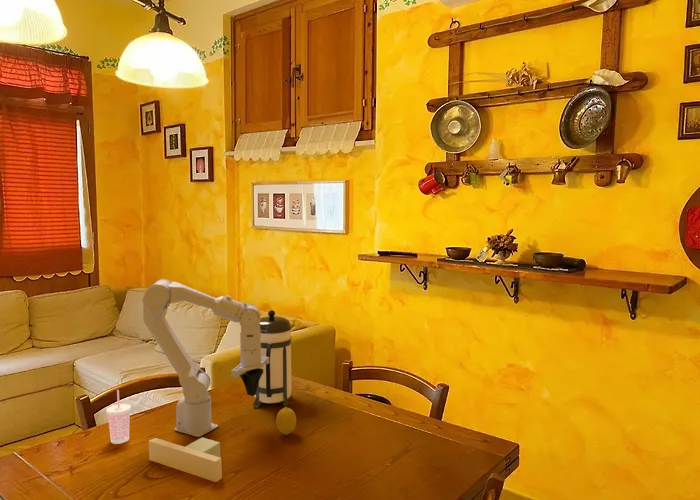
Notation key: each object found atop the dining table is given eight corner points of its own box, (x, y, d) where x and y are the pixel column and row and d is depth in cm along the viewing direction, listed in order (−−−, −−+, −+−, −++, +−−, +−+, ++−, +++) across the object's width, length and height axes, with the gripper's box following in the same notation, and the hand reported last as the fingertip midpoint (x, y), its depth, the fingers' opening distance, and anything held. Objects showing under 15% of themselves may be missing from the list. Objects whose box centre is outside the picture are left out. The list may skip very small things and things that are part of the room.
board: (149, 460, 133) (148, 440, 133) (155, 456, 135) (155, 437, 135) (215, 482, 123) (215, 461, 122) (221, 478, 125) (221, 457, 124)
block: (182, 466, 131) (181, 448, 130) (202, 454, 137) (202, 437, 136) (200, 472, 128) (199, 454, 127) (220, 459, 134) (219, 442, 134)
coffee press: (237, 401, 171) (235, 310, 168) (278, 389, 182) (277, 303, 179) (268, 418, 159) (266, 319, 156) (310, 404, 169) (309, 311, 166)
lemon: (299, 432, 149) (299, 404, 148) (291, 440, 144) (290, 412, 143) (281, 429, 151) (281, 402, 150) (272, 437, 146) (272, 409, 145)
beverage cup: (105, 446, 141) (102, 395, 139) (110, 436, 147) (108, 386, 145) (129, 443, 142) (127, 393, 141) (134, 434, 148) (132, 385, 147)
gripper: (245, 356, 143) (246, 405, 144) (277, 343, 155) (278, 388, 157) (225, 353, 146) (226, 401, 147) (258, 340, 159) (258, 384, 160)
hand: (251, 394), depth 152 cm, fingers closed
